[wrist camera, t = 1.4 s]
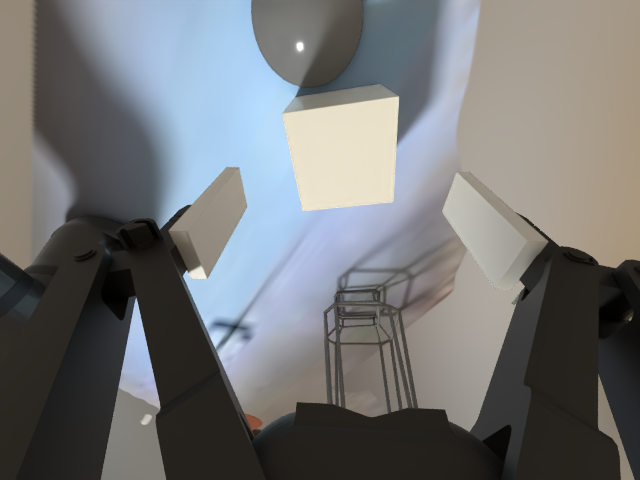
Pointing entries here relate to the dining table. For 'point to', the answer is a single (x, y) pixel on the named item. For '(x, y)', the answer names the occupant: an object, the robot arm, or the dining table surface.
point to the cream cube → (343, 146)
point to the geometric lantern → (393, 334)
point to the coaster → (307, 37)
